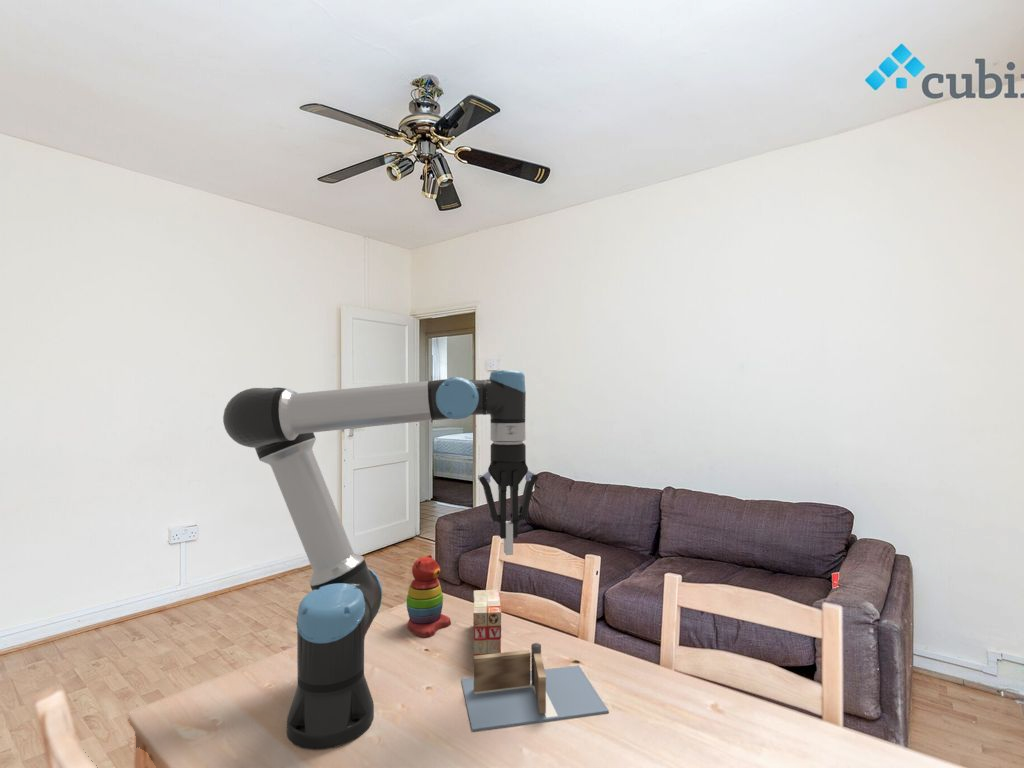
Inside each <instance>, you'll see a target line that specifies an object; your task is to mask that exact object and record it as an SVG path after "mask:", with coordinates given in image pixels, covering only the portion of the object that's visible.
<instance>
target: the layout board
mask: <svg viewBox="0 0 1024 768" xmlns="http://www.w3.org/2000/svg"><path fill="white" fill-rule="evenodd" d="M544 670H545V674H546V713H539V708H538V703H537V697H536V692H535V687H534V685H532V670H530V679H531V685H529V686H521V687H513V688H504V689H496V690H488V691H480V692H474V677H468V678H462V679H461V680H460V682H461V686H462V690H463V695H464V699H465V705H466V708H467V714H468V717H469V718H468V719H469V722H470V723H469V724H470V727H471V732H478V731H479V732H480V731H486V730H491V729H493V730H494V729H499V728H500V729H502V728H508V727H515V726H522V725H523V726H524V725H528V724H536V723H543V722H544V723H545V722H551V721H558V720H565V719H574V718H580V717H588V716H595V715H596V716H597V715H602V714H608V713H610V712H609V711H610V710H609V708H608V707H607V706H606V704H605V703H604V701H603V700H602V698H601V696H600V695H599V694H598V692H597V691H596V688H594V686H593V685H592V683H591V681H590V680H589V678H588V677H587V675H586V674H585V672H584V671H583V669H582V668H581V667H580V665H571V666H561V667H554V668H546V669H545V668H544Z"/></svg>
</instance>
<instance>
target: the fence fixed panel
mask: <svg viewBox="0 0 1024 768" xmlns="http://www.w3.org/2000/svg"><path fill="white" fill-rule="evenodd" d="M530 647H531V650H530V649H525V650H517V651H516V650H515V651H507V652H505V651H504V652H501V653H496V654H486V655H477V656H474V667H473V678H474V692H480V691H488V690H496V689H504V688H513V687H521V686H529V685H531V679H530V671H532V685H534V654H541V655H542V644H540V643H538V642H535V643H531V646H530Z"/></svg>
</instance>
